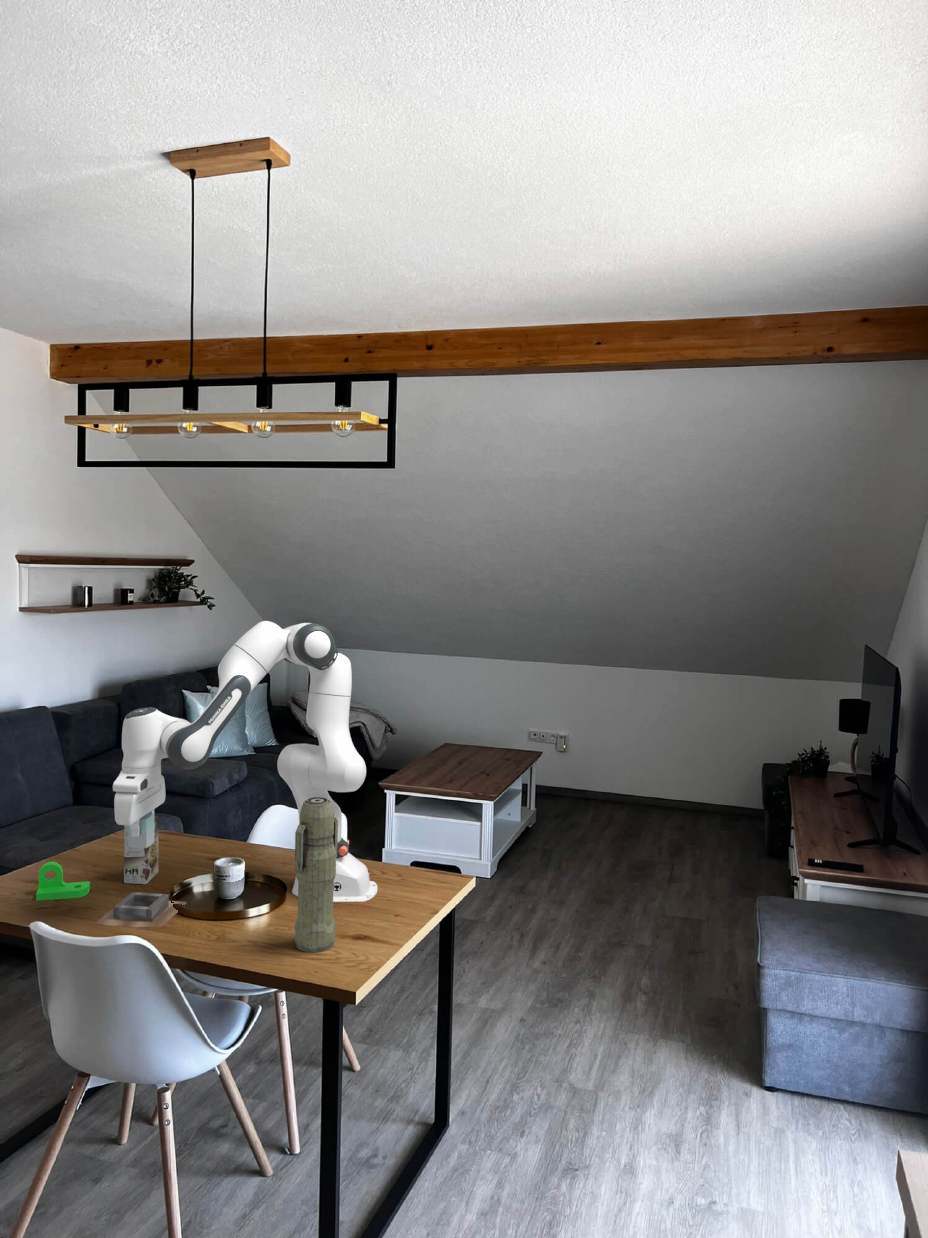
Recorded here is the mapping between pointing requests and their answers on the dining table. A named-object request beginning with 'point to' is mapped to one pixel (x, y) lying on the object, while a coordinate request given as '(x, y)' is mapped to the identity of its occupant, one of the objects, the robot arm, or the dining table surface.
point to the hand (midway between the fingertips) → (141, 832)
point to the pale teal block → (143, 833)
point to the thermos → (315, 875)
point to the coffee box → (140, 859)
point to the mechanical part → (58, 885)
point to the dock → (141, 911)
